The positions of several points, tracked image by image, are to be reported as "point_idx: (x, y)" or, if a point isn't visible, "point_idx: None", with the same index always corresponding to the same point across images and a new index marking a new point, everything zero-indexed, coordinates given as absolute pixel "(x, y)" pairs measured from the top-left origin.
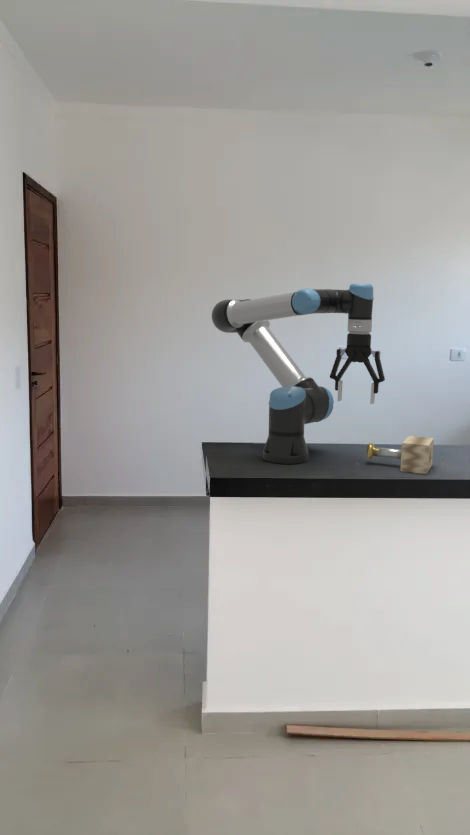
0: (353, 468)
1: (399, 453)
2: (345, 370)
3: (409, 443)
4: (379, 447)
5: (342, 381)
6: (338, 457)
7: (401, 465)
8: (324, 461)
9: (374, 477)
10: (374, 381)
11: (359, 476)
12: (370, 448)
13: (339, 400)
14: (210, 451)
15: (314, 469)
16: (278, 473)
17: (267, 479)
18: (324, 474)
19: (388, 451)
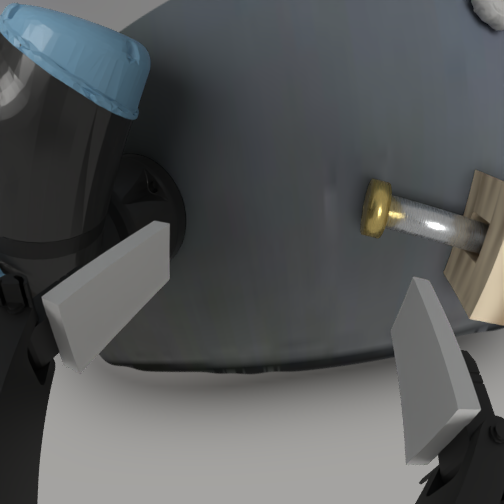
0: (319, 271)
1: (461, 248)
2: (9, 432)
3: (488, 319)
4: (406, 221)
5: (65, 302)
6: (263, 145)
7: (449, 280)
8: (229, 211)
9: (368, 340)
10: (436, 482)
11: (334, 338)
12: (373, 236)
13: (165, 282)
14: None
15: (222, 299)
16: (165, 336)
17: (164, 369)
18: (252, 335)
19: (432, 239)
